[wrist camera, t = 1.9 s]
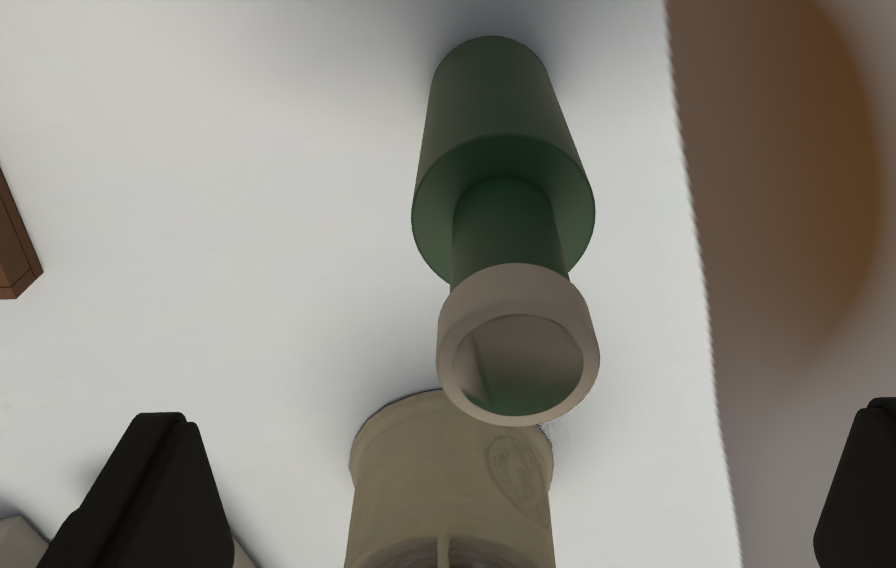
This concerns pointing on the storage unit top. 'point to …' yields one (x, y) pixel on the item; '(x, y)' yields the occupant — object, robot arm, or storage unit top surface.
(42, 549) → the grey compartment organizer
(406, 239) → the storage unit top surface
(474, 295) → the bottle
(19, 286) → the tray
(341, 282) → the storage unit top surface
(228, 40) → the storage unit top surface
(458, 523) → the lamp
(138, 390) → the storage unit top surface
